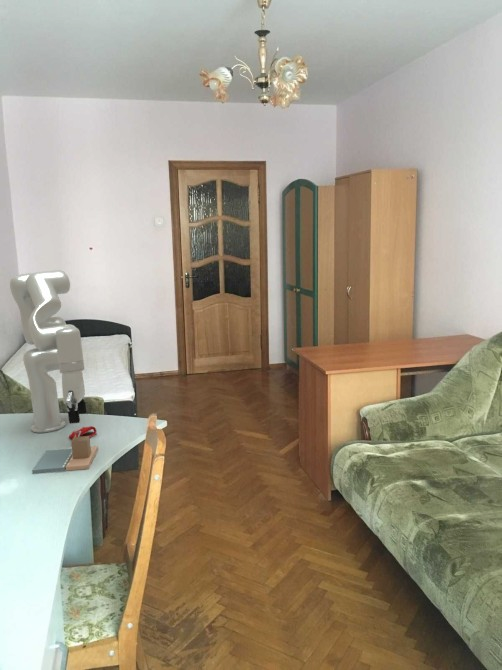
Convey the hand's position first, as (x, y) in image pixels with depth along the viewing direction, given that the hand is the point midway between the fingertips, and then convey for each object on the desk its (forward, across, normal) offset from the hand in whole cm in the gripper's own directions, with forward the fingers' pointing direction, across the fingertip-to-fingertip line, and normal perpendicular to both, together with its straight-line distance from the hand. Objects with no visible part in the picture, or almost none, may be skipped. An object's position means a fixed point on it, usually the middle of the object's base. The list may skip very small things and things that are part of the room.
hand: (78, 418), depth 178 cm
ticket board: (+14, -1, -9) cm, 17 cm away
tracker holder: (+15, -22, -6) cm, 27 cm away
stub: (+14, -1, 0) cm, 15 cm away
